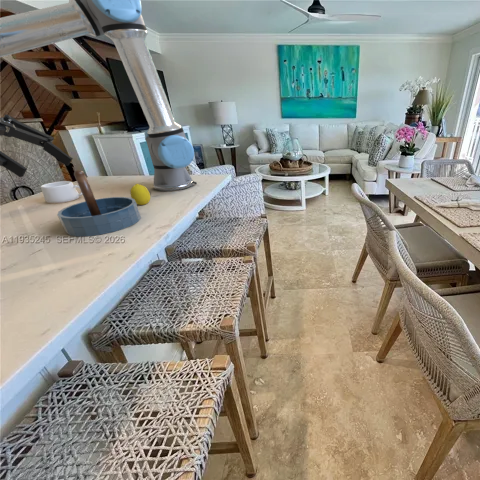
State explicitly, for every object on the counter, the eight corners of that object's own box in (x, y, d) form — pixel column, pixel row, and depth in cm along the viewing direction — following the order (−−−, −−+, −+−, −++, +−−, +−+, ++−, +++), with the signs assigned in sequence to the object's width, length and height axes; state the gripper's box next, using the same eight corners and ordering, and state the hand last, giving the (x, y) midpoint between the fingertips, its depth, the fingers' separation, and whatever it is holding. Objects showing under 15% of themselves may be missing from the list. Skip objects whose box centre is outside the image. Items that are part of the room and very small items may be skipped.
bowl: (138, 210, 89) (132, 193, 86) (145, 228, 76) (138, 208, 73) (69, 223, 79) (60, 204, 76) (64, 245, 67) (53, 223, 64)
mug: (40, 205, 94) (32, 188, 91) (54, 197, 102) (46, 182, 99) (81, 201, 97) (74, 185, 94) (91, 194, 105) (85, 179, 103)
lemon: (150, 202, 96) (143, 180, 93) (155, 206, 93) (148, 183, 89) (133, 206, 93) (125, 183, 89) (137, 210, 89) (129, 186, 86)
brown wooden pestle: (114, 218, 81) (95, 167, 74) (108, 225, 76) (87, 171, 69) (91, 221, 79) (68, 168, 72) (83, 228, 74) (58, 173, 67)
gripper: (3, 114, 75) (79, 167, 82) (-127, 118, 53) (-7, 190, 60) (13, 92, 73) (90, 149, 80) (-119, 87, 50) (4, 166, 58)
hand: (48, 167), depth 70 cm, fingers open, 13 cm apart
